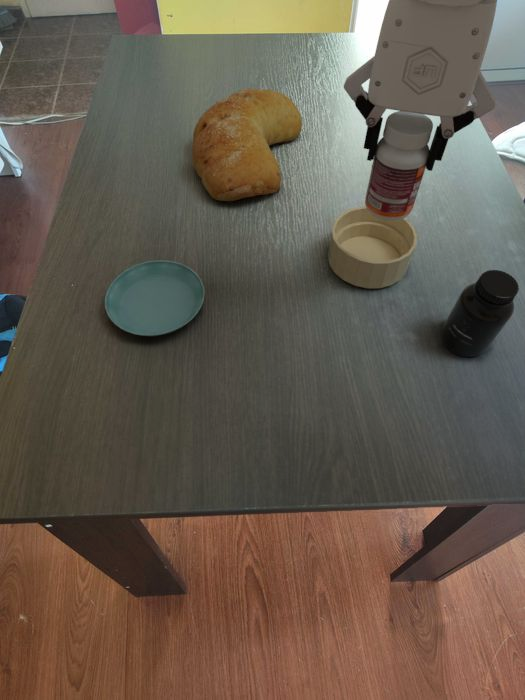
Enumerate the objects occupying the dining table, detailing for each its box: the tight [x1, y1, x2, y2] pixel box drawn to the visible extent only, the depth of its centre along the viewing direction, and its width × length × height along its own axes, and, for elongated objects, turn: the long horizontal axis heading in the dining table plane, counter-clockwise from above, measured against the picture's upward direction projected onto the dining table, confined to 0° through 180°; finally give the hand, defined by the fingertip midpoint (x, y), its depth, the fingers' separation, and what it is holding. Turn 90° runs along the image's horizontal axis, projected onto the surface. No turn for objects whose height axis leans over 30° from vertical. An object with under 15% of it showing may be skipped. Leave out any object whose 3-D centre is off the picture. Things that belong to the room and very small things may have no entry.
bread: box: [191, 88, 303, 202], centre depth 89 cm, size 32×20×10 cm, turn 165°
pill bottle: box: [364, 110, 434, 220], centre depth 56 cm, size 6×6×11 cm
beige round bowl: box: [327, 205, 418, 289], centre depth 74 cm, size 13×13×6 cm
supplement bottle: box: [440, 269, 520, 358], centre depth 63 cm, size 7×7×12 cm
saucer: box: [104, 259, 206, 337], centre depth 70 cm, size 15×15×3 cm
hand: (400, 157), depth 55 cm, fingers closed on pill bottle, 6 cm apart
